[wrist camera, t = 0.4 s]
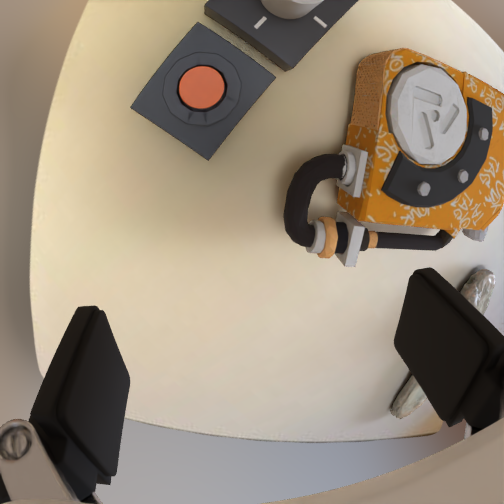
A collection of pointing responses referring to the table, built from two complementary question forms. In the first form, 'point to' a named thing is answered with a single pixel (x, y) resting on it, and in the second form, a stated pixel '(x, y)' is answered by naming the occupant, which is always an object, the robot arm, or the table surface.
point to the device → (407, 160)
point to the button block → (212, 118)
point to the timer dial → (290, 7)
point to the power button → (201, 87)
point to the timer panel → (277, 27)
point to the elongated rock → (479, 297)
